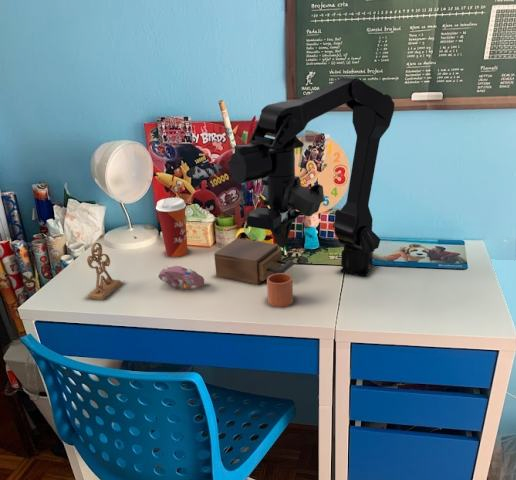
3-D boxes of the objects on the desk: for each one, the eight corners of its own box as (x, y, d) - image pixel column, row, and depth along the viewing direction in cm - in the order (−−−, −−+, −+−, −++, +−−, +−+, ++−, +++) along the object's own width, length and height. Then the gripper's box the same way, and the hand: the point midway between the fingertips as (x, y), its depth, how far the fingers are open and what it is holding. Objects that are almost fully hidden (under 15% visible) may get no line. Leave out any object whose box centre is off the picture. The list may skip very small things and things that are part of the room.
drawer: (297, 268, 142) (296, 252, 140) (279, 284, 135) (278, 267, 133) (245, 259, 148) (244, 243, 146) (225, 274, 142) (224, 257, 139)
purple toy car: (163, 292, 140) (153, 273, 135) (170, 277, 142) (160, 258, 137) (200, 296, 137) (192, 278, 131) (207, 281, 139) (198, 262, 134)
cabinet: (278, 267, 145) (278, 244, 142) (257, 284, 137) (256, 260, 134) (238, 260, 150) (237, 238, 147) (216, 276, 143) (214, 253, 139)
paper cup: (186, 258, 153) (179, 206, 146) (158, 258, 155) (150, 206, 147) (195, 247, 160) (189, 196, 152) (168, 246, 161) (161, 196, 154)
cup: (297, 298, 131) (296, 275, 128) (285, 308, 127) (285, 285, 124) (275, 293, 133) (274, 271, 130) (263, 304, 129) (262, 281, 126)
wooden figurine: (107, 282, 143) (97, 235, 137) (121, 283, 142) (112, 236, 136) (88, 298, 136) (77, 250, 130) (103, 300, 135) (92, 251, 129)
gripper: (293, 190, 106) (295, 270, 114) (337, 165, 119) (336, 238, 128) (242, 184, 111) (247, 260, 119) (289, 160, 125) (291, 230, 133)
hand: (282, 247), depth 125 cm, fingers closed
